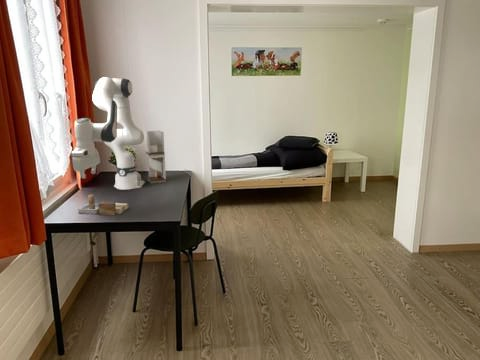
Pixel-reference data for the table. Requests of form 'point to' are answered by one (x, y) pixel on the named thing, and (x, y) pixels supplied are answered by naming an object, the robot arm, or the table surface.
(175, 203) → the table surface
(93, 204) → the dowel
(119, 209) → the board
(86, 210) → the tray
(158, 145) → the display case
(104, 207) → the wooden block
